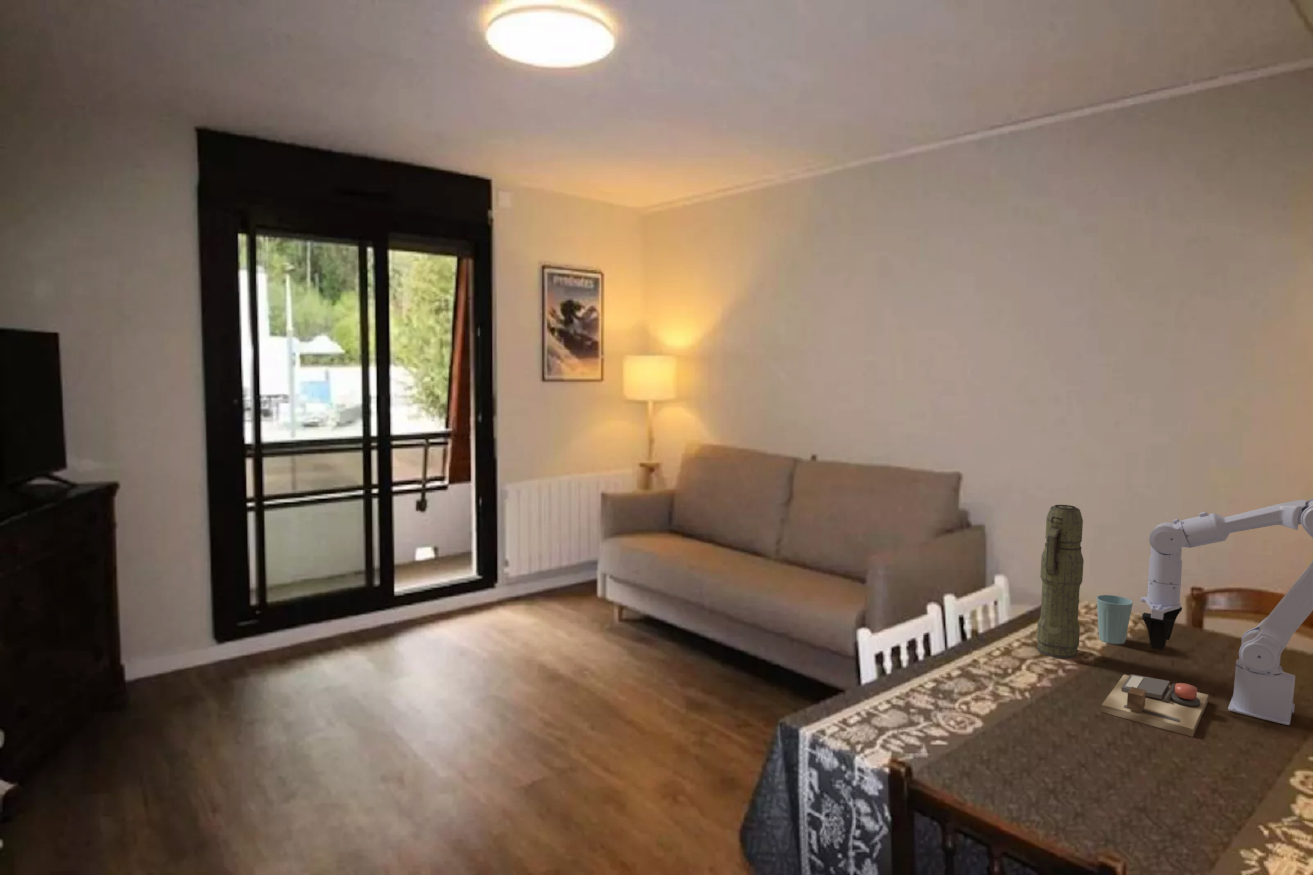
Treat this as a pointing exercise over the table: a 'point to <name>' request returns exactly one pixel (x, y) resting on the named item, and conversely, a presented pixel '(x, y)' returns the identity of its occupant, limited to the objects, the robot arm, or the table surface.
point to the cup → (1113, 618)
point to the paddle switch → (1147, 685)
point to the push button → (1185, 691)
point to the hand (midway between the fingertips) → (1160, 643)
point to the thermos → (1061, 583)
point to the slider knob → (1136, 699)
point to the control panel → (1159, 709)
